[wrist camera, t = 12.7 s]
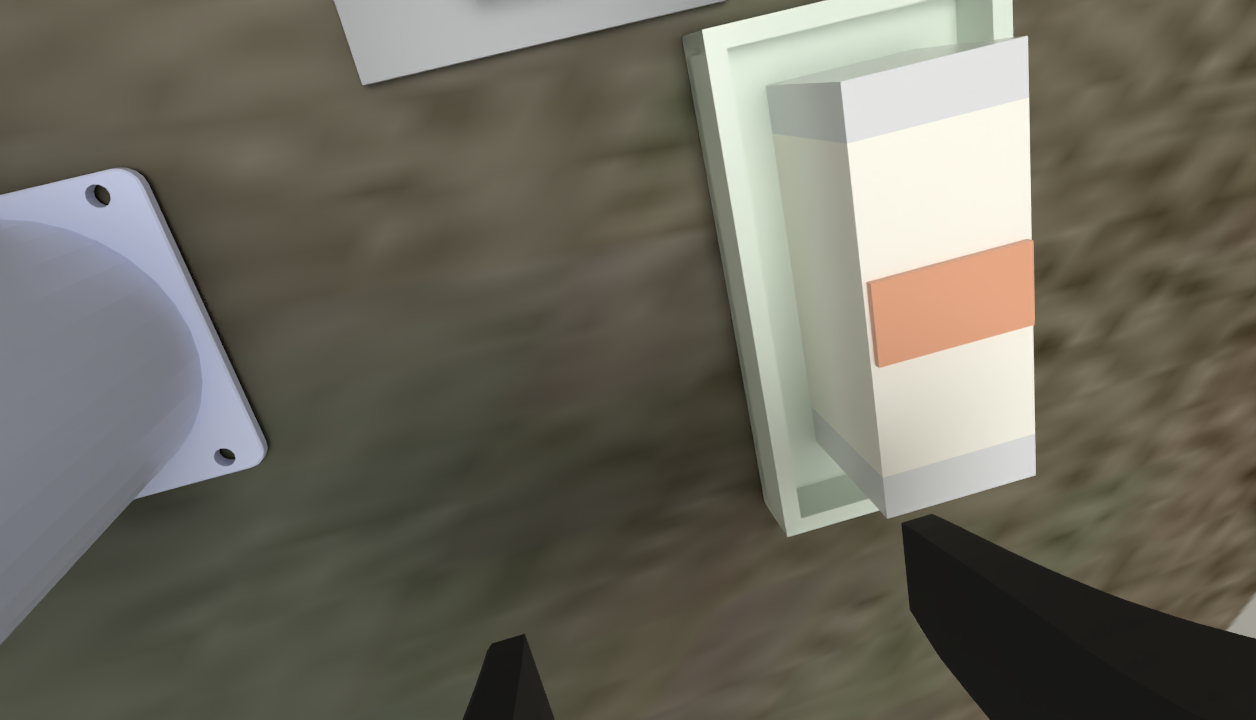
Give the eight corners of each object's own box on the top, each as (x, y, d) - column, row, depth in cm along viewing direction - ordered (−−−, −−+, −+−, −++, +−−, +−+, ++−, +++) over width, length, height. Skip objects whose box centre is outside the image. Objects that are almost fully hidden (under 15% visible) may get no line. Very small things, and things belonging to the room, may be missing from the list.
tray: (764, 502, 23) (787, 537, 21) (681, 36, 18) (702, 29, 16) (982, 439, 24) (1023, 468, 22) (960, -30, 19) (1011, -44, 17)
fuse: (816, 441, 22) (891, 523, 18) (765, 85, 18) (844, 81, 14) (938, 407, 23) (1041, 478, 18) (913, 48, 19) (1034, 35, 15)
